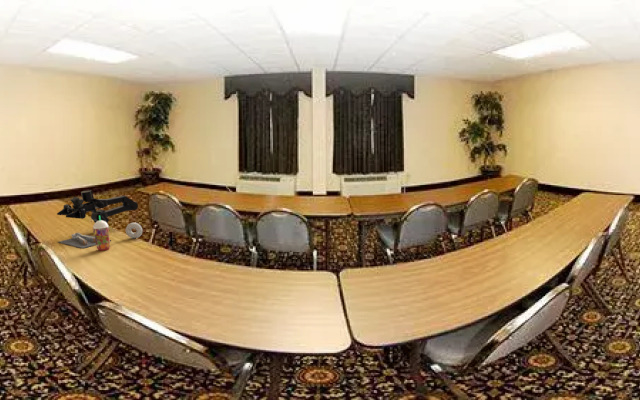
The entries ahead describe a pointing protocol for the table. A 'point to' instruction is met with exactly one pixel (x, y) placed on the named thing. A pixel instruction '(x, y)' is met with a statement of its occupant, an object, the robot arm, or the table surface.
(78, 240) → the tong moving arm
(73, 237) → the tong fixed arm
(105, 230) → the smoothie
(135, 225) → the donut
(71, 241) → the rubber mat
